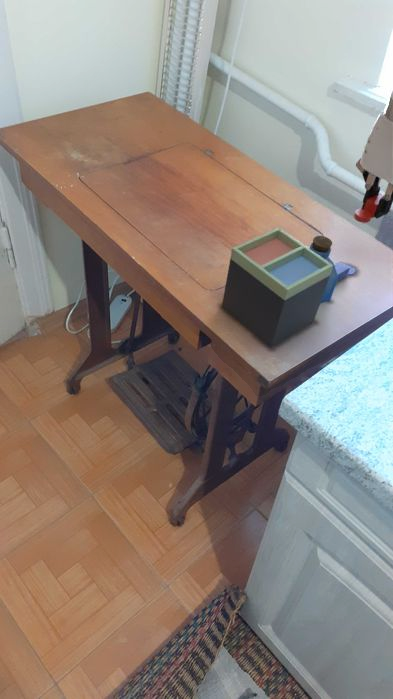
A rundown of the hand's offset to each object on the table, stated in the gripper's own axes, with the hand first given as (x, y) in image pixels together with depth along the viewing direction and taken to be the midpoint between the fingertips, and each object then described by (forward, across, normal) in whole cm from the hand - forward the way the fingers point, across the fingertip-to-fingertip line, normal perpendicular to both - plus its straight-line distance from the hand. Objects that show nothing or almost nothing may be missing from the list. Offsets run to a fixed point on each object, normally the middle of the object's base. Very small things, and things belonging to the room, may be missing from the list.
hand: (373, 211), depth 99 cm
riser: (+10, -2, +28) cm, 30 cm away
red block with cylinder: (0, 0, +2) cm, 2 cm away
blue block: (+10, -2, +8) cm, 13 cm away
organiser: (-1, -2, +28) cm, 28 cm away
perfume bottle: (+10, -2, +18) cm, 21 cm away
